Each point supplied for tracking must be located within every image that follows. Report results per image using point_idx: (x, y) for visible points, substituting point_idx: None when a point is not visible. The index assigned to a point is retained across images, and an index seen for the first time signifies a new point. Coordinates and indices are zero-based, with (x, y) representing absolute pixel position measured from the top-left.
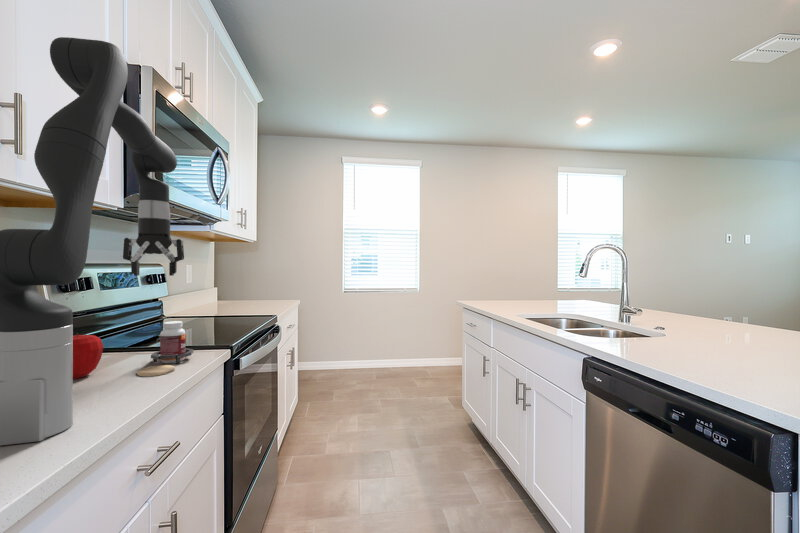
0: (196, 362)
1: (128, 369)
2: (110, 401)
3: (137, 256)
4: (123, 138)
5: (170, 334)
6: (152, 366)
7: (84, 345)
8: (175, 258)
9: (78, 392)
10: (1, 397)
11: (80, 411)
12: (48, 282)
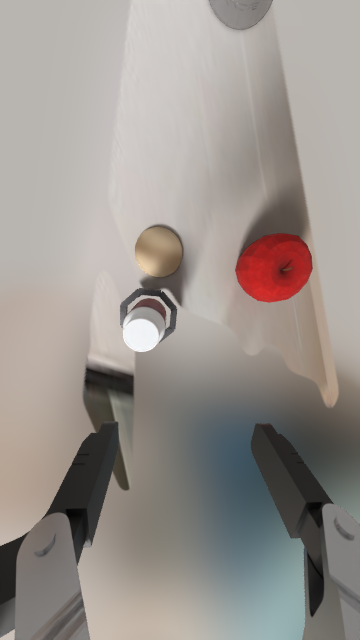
0: (113, 290)
1: (198, 284)
2: (184, 100)
3: (344, 574)
4: None
5: (144, 307)
6: (168, 274)
7: (265, 239)
8: (12, 579)
9: (233, 177)
10: None
11: (210, 63)
12: None
